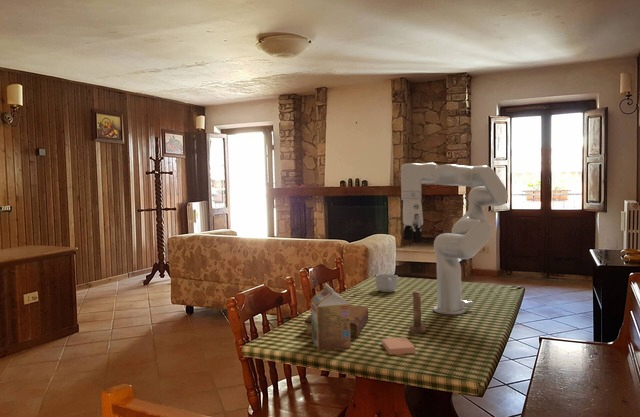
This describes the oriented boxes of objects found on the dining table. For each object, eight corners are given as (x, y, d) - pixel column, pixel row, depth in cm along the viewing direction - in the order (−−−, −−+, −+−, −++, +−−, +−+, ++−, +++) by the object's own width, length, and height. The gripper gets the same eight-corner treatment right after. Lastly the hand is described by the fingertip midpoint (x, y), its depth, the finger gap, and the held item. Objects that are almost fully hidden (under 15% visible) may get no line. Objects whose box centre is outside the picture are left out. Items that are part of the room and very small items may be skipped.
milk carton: (350, 347, 149) (349, 288, 149) (318, 350, 147) (316, 291, 146) (342, 337, 160) (340, 282, 159) (311, 340, 158) (310, 284, 157)
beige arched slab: (357, 340, 159) (357, 323, 158) (304, 336, 164) (304, 320, 163) (368, 320, 181) (368, 306, 181) (321, 318, 186) (321, 304, 185)
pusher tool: (422, 328, 167) (421, 289, 167) (428, 333, 162) (427, 293, 161) (407, 329, 166) (406, 290, 166) (412, 334, 161) (411, 294, 160)
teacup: (376, 288, 236) (375, 273, 236) (397, 288, 235) (397, 273, 234) (375, 295, 222) (375, 278, 222) (398, 295, 221) (398, 278, 221)
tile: (405, 337, 153) (415, 347, 143) (405, 343, 153) (415, 354, 143) (381, 338, 152) (389, 349, 142) (381, 345, 152) (389, 356, 142)
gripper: (429, 195, 170) (430, 242, 170) (413, 195, 187) (413, 238, 187) (409, 196, 169) (410, 243, 169) (394, 196, 186) (395, 239, 186)
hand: (412, 240), depth 178 cm, fingers open, 9 cm apart
